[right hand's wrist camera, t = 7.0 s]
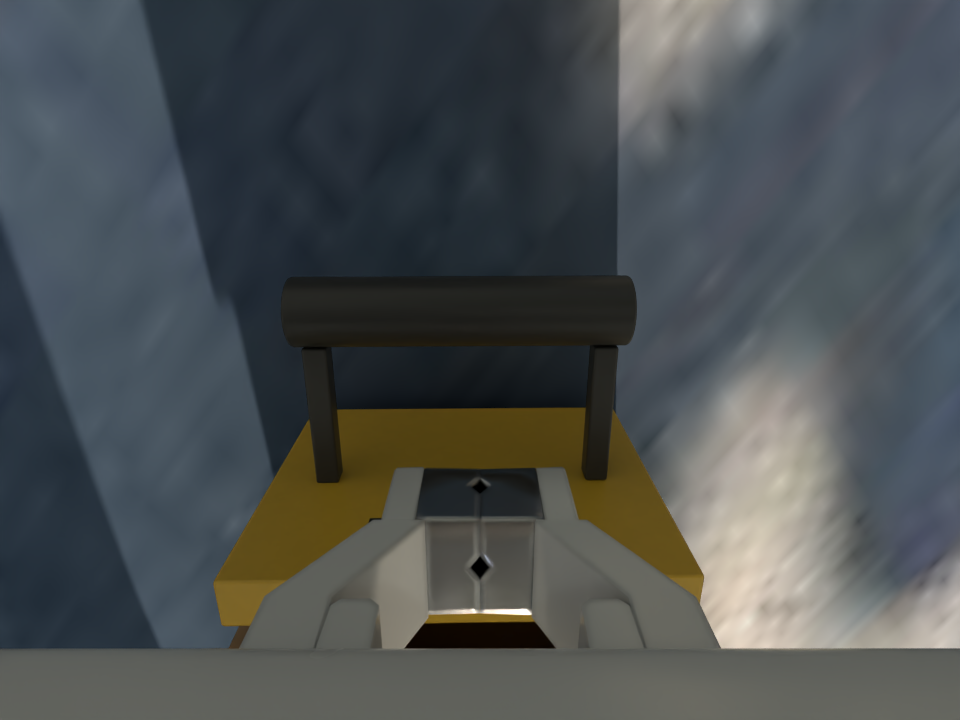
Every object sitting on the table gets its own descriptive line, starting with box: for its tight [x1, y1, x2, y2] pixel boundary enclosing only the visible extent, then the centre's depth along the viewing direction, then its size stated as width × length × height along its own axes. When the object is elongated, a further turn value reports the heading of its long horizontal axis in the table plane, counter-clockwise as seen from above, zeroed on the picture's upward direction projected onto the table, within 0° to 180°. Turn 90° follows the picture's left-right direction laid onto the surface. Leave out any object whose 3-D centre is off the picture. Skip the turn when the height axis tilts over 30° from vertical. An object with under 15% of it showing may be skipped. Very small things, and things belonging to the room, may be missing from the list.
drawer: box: [213, 276, 704, 649], centre depth 18 cm, size 24×10×8 cm, turn 0°
